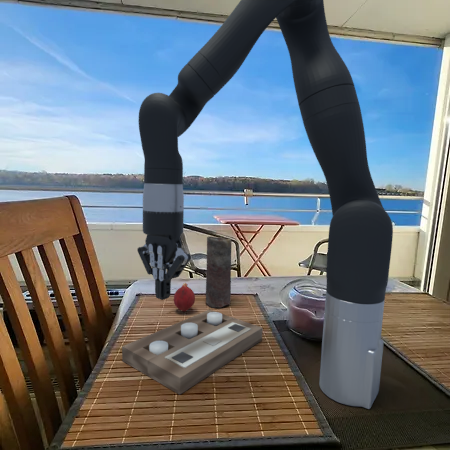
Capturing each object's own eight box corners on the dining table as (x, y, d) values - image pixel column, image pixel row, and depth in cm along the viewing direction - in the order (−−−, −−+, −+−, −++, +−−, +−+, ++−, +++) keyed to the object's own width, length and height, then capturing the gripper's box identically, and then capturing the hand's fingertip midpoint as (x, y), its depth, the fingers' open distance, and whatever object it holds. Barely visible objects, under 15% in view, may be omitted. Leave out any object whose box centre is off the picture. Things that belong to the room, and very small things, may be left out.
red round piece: (190, 316, 87) (191, 287, 86) (170, 314, 88) (170, 285, 87) (197, 309, 92) (197, 281, 91) (177, 306, 94) (178, 279, 93)
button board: (261, 340, 75) (262, 326, 75) (179, 394, 55) (180, 376, 54) (208, 320, 85) (209, 308, 84) (122, 360, 64) (122, 344, 64)
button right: (225, 324, 78) (225, 314, 78) (215, 329, 75) (215, 319, 75) (213, 320, 80) (213, 310, 80) (203, 325, 77) (203, 314, 77)
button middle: (200, 336, 71) (201, 325, 71) (189, 342, 68) (189, 331, 68) (189, 331, 73) (189, 321, 73) (177, 337, 71) (177, 326, 70)
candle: (202, 300, 100) (204, 235, 97) (225, 298, 102) (228, 234, 99) (209, 309, 92) (211, 239, 90) (233, 307, 94) (236, 239, 92)
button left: (171, 356, 65) (172, 344, 64) (157, 364, 62) (157, 351, 62) (159, 350, 67) (159, 338, 67) (145, 357, 64) (145, 345, 64)
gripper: (203, 210, 60) (201, 301, 62) (155, 205, 68) (155, 286, 70) (173, 212, 54) (172, 312, 56) (124, 207, 62) (125, 295, 64)
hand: (162, 298), depth 63 cm, fingers closed
